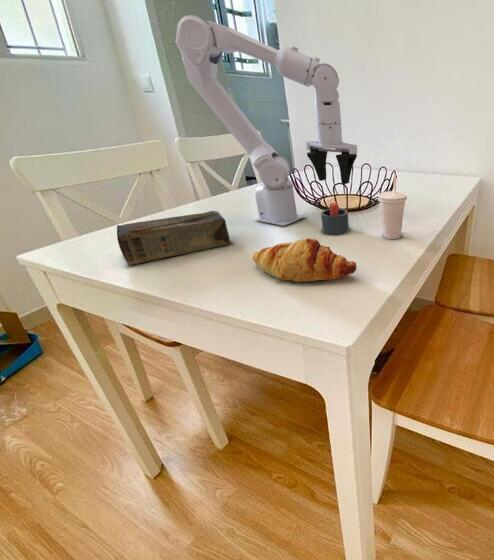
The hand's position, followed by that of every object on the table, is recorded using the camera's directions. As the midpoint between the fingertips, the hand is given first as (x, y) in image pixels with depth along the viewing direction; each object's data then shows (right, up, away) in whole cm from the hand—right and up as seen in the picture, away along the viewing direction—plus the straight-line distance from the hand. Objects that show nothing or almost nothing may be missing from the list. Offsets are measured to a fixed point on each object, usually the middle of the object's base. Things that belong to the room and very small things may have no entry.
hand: (333, 181), depth 88 cm
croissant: (-1, -24, -24) cm, 34 cm away
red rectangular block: (+1, -13, -5) cm, 14 cm away
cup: (+1, -13, -5) cm, 14 cm away
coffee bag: (-30, -19, -15) cm, 38 cm away
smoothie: (+15, -15, -8) cm, 23 cm away
